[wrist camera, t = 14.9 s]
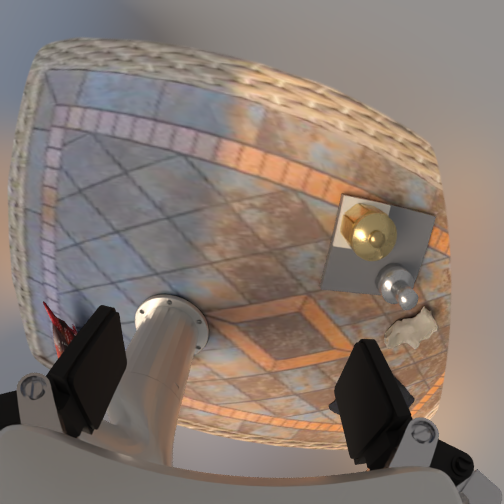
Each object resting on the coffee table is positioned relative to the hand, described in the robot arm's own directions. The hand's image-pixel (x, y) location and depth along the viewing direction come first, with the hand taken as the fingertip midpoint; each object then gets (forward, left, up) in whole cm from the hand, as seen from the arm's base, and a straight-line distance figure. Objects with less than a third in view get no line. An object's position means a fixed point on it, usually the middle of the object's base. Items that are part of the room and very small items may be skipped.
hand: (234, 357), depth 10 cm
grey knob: (-8, -23, -27) cm, 37 cm away
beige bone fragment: (-17, -31, -29) cm, 46 cm away
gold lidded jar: (0, -15, -27) cm, 31 cm away
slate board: (-4, -20, -28) cm, 35 cm away
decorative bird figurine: (-27, +31, -28) cm, 50 cm away
